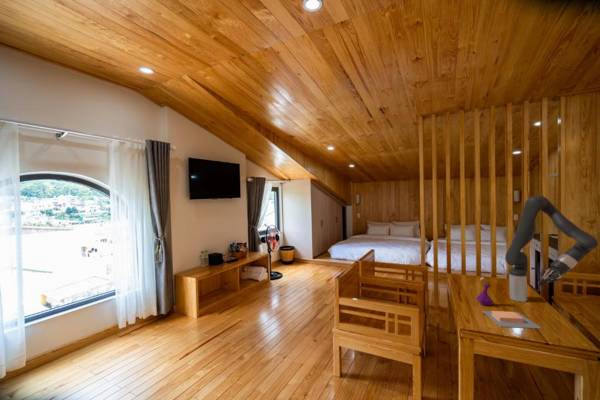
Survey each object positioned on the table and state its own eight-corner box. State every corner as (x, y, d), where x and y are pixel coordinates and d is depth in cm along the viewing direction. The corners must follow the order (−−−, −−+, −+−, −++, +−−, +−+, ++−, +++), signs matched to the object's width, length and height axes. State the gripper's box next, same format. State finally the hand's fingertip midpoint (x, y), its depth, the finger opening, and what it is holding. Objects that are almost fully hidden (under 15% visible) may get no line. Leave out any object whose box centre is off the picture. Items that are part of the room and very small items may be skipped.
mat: (482, 311, 165) (482, 311, 165) (518, 313, 161) (518, 312, 161) (500, 326, 145) (500, 326, 145) (542, 329, 141) (542, 328, 141)
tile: (514, 316, 156) (491, 315, 159) (513, 311, 157) (491, 310, 159) (523, 323, 148) (500, 321, 150) (523, 318, 148) (499, 317, 150)
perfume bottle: (489, 302, 178) (487, 276, 178) (493, 307, 171) (492, 279, 171) (476, 301, 180) (475, 275, 180) (480, 306, 173) (479, 279, 173)
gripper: (549, 256, 156) (526, 276, 158) (567, 262, 143) (542, 283, 145) (560, 265, 155) (536, 285, 157) (579, 272, 142) (553, 293, 144)
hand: (539, 284), depth 151 cm, fingers closed
